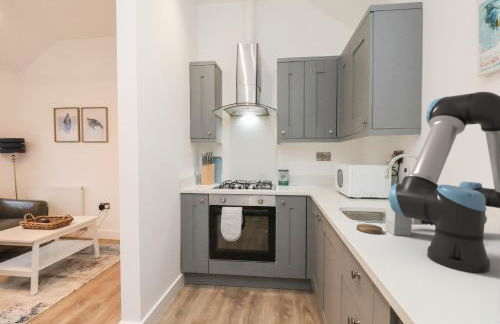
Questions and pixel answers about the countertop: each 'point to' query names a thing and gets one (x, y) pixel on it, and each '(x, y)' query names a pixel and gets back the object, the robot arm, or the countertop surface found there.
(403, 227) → the supplement box
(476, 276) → the countertop surface
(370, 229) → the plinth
